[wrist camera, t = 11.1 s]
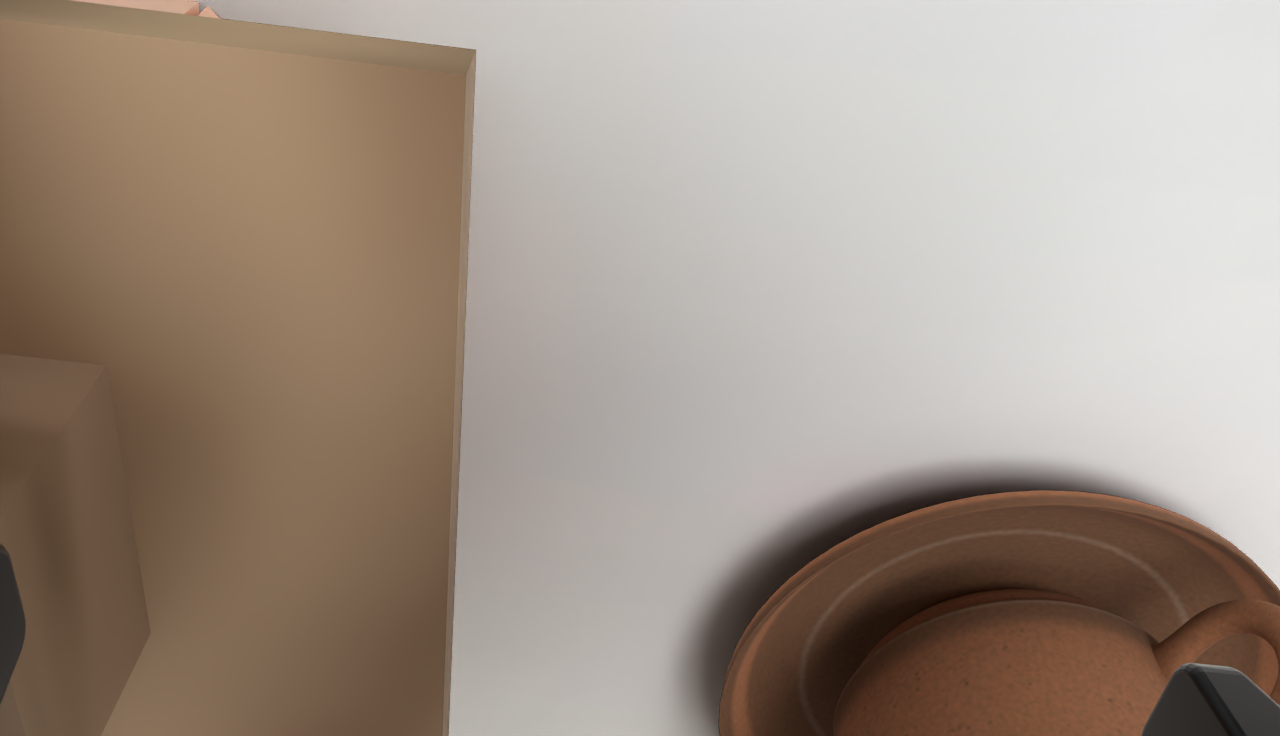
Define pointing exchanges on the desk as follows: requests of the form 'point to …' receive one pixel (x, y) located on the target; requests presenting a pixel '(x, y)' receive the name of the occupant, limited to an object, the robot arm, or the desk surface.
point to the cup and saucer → (1001, 623)
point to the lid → (230, 372)
